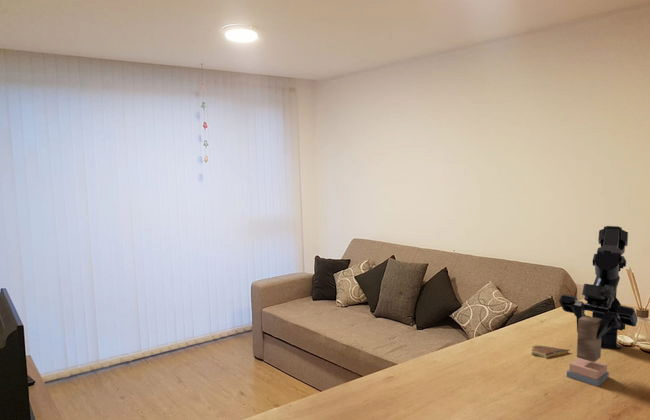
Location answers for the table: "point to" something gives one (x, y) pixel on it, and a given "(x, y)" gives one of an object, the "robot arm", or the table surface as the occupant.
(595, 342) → the walnut pillar
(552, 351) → the shard
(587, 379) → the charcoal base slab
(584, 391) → the table surface
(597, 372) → the terracotta top slab
